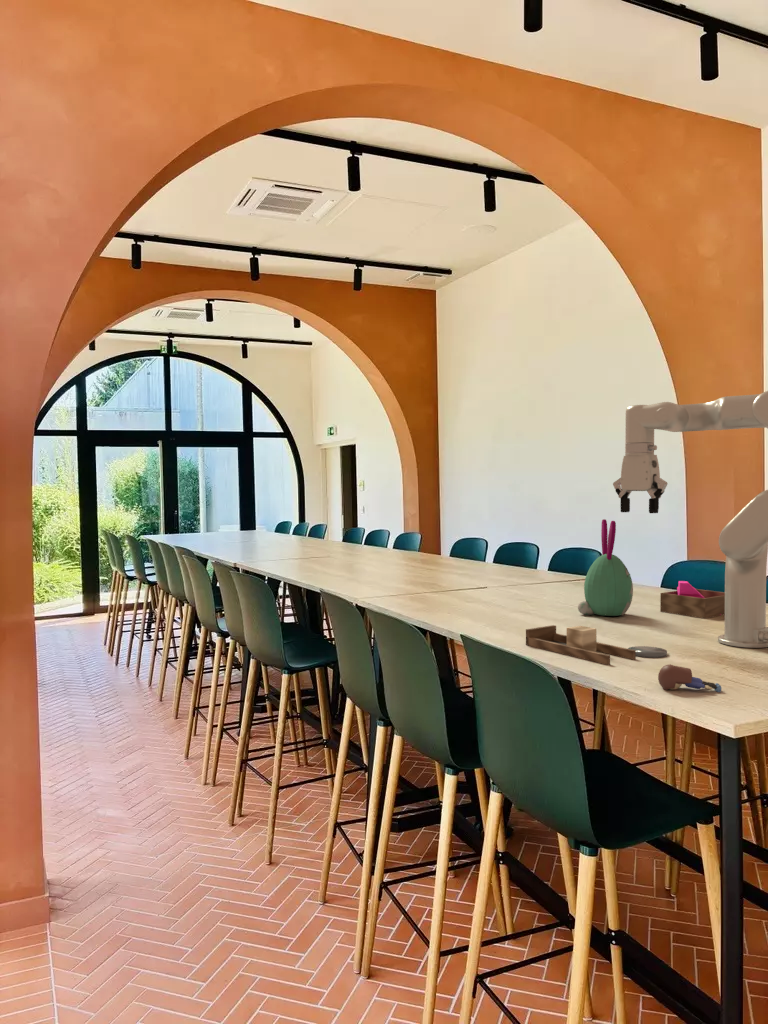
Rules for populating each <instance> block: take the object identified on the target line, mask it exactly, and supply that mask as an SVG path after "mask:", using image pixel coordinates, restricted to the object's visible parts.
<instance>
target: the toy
mask: <svg viewBox="0 0 768 1024" xmlns="http://www.w3.org/2000/svg"><path fill="white" fill-rule="evenodd" d="M609 524H610V525H609V530H608V521H607V519H605V518H604V519H602V520H601V530H600V532H601V535H600V536H601V552H602V553H601V554H602V555H600V556H598V557H597V558H596V559H595V560H594V561H593V563H592V564H591V565H590V566H589V569H588V571H587V574H586V575H585V579H584V585H583V589H584V598H585V600H583V601H581V602H579V603H578V605H577V610H578V612H579V613H580V614H582V615H586V616H589V615H590V616H591V615H598V616H603V617H604V616H606V617H607V616H608V617H617V616H622V615H625V614H626V613H627V611H628V610H629V608H630V607H631V605H632V601H633V596H634V584H633V579H632V576H631V573H630V571H629V570H628V568H627V566H626V565H625V563H624V561H622V559H621V558H620V557H619V556H617V555H615V554H613V552H614V546H615V539H616V531H617V529H616V528H617V527H616V526H617V525H616V521H615V520H611V521H610V523H609Z"/></svg>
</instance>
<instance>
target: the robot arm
mask: <svg viewBox="0 0 768 1024" xmlns="http://www.w3.org/2000/svg"><path fill="white" fill-rule="evenodd" d="M764 428H767V429H768V390H765V391H764V392H762V393H757V394H746V395H745V394H744V395H730V396H728V395H727V396H722V397H719V398H717V399H715V400H713V401H709V402H704V403H703V402H700V403H688V404H687V403H686V404H678V403H674V402H669V401H664V402H663V401H662V402H657V403H653V404H635V405H630V406H627V408H626V409H625V447H624V448H625V449H624V450H625V452H624V453H625V454H624V455H623V458H622V464H621V470H620V472H621V473H620V478H618V479H616V480H615V481H614V482H613V483H612V485H613V487H614V489H615V493H616V494H617V496H618V498H619V499H620V505H619V506H620V507H619V508H620V512H621V513H630V512H631V498H630V497H629V496H630V495H631V493H632V492H647V493H648V494H649V496H650V497H649V498H648V513H649V514H658V513H659V509H660V507H659V505H660V503H659V502H660V501H659V500H660V499H661V497H662V495H663V494H664V493H665V490H666V488H667V487H668V485H669V484H668V482H667V481H666V480H665V479H662V478H661V473H660V472H661V471H660V464H659V463H660V462H659V459H658V455H657V454H655V451H656V450H657V449H658V446H657V445H656V444H655V430H658V431H667V432H672V433H682V432H683V433H684V432H685V433H686V432H701V431H702V432H703V431H724V430H725V431H726V430H727V431H729V430H740V429H741V430H742V429H764ZM718 546H719V549H720V551H721V552H722V553H723V554H724V555H725V566H724V567H725V568H724V569H725V571H724V593H725V615H724V634H720V635H718V636H717V642H718V643H720V644H723V645H726V646H731V647H737V648H745V649H746V648H750V649H758V648H759V649H761V648H768V627H767V624H766V623H767V622H766V621H767V619H766V617H767V615H766V613H767V565H768V489H766V490H763V491H761V492H760V493H758V494H757V495H756V496H754V497H753V498H751V500H750V501H749V502H748V503H747V504H746V505H745V506H744V507H743V508H742V509H741V510H740V511H739V512H738V513H737V514H736V515H735V516H734V517H733V518H732V519H731V520H730V521H729V522H728V523H727V524H726V525H725V526H724V527H723V528H722V530H721V531H720V534H719V537H718Z"/></svg>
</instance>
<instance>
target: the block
mask: <svg viewBox="0 0 768 1024" xmlns="http://www.w3.org/2000/svg"><path fill="white" fill-rule="evenodd" d="M566 636H567V646H571V647H576V648H580V649H584V650H589V651H593V652H597V651H596V642H597V628H594V627H590V626H589V627H588V626H584V625H577V626H570V627H566Z"/></svg>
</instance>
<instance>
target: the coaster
mask: <svg viewBox="0 0 768 1024" xmlns="http://www.w3.org/2000/svg"><path fill="white" fill-rule="evenodd" d="M627 649H631V650H636V657H639V658H649V659H651V658H653V659H654V658H657V659H658V658H664V657H665V658H666V657H667V656H668V651H667V650H666V649H664V648H661V647H656V646H647V645H646V646H645V645H637V646H636V645H635V646H629V647H628V648H627Z"/></svg>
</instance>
